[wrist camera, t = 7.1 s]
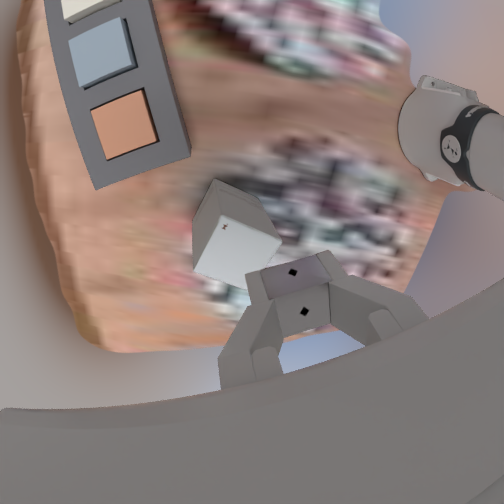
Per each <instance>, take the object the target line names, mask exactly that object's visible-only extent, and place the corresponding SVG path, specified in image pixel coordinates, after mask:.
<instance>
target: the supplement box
mask: <svg viewBox="0 0 504 504" xmlns="http://www.w3.org/2000/svg"><path fill="white" fill-rule="evenodd" d="M281 244H282V240H281V238H280V236H279V234H278V233H277V231H276V229H275V227H274V226H273V224H272V222H271V220H270V218H269V217H268V215H267V213H266V211H265V210H264V208H263V206H262V204H261V203H260V201H259V199H258V198H256V197H254V196H252V195H250V194H248V193H246V192H244V191H241V190H239V189H237V188H235V187H233V186H230V185H228V184H226V183H224V182H222V181H219V180H217V179H215V178H214V179H213V181H212V183H211V185H210V187H209V189H208V191H207V193H206V195H205V197H204V199H203V201H202V203H201V204H200V206H199V208H198V210H197V212H196V214H195V216H194V218H193V220H192V251H193V272H195V273H198V274H201V275H204V276H207V277H210V278H213V279H216V280H219V281H222V282H225V283H227V284H230V285H233V286H236V287H239V288H242V289H245V290H248V288H247V284H246V280H245V274H246V273H250V272H253V271H257V270H261V269H265V267H266V266H267V264H268V263H269V261H270V260H271V258H272V257H273V255H274V254H275V252H276V251H277V250H278V248H279V247H280V245H281Z"/></svg>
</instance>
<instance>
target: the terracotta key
mask: <svg viewBox="0 0 504 504" xmlns="http://www.w3.org/2000/svg"><path fill="white" fill-rule="evenodd" d="M91 114H92V117H93V120H94V123H95V127H96V130H97V133H98V136H99V139H100V142H101V145H102V147H103V150H104V153H105V156H106V159H107V160H108V159H110V158H112V157H115V156H117V155H120V154H122V153H125V152H128V151H130V150H133V149H136V148H138V147H141V146H144V145H147V144H149V143H152V142H155V141H157V140H158V138H159V136H158V133H157V129H156V126H155V123H154V119H153V116H152V113H151V109H150V106H149V103H148V99H147V96H146V92H145V90H140V91H138V92H135V93H132V94H130V95H127V96H125V97H122V98H120V99H117V100H115V101H112V102H110V103H108V104H105V105H103V106H101V107H99V108H96V109H94V110H92V111H91Z"/></svg>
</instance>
